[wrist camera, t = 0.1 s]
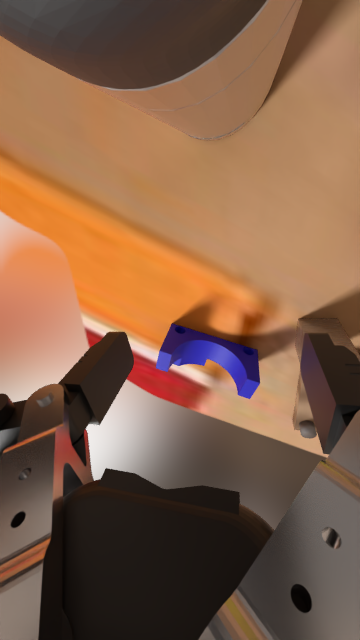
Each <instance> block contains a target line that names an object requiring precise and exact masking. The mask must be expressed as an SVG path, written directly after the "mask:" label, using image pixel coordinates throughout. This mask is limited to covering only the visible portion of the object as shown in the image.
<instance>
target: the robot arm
mask: <svg viewBox="0 0 360 640" xmlns="http://www.w3.org/2000/svg"><path fill="white" fill-rule="evenodd" d="M302 1H303V0H0V35H1V36H2V37H4V38H5V39H7V40H8V41H10V42H12V43H13V44H15V45H16V46H18V47H19V48H21V49H23V50H24V51H26V52H28V53H30V54H32V55H33V56H35V57H37V58H39V59H41V60H43V61H45V62H47V63H49V64H51V65H53V66H54V67H56V68H58V69H60V70H62V71H64V72H66V73H68V74H70V75H72V76H74V77H76V78H78V79H80V80H81V81H83V82H85V83H87V84H89V85H91V86H93V87H95V88H97V89H99V90H101V91H103V92H105V93H107V94H109V95H111V96H113V97H115V98H117V99H119V100H121V101H123V102H125V103H127V104H129V105H131V106H133V107H135V108H137V109H139V110H141V111H143V112H145V113H147V114H149V115H151V116H153V117H155V118H156V119H158V120H160V121H162V122H164V123H166V124H168V125H170V126H172V127H174V128H176V129H178V130H180V131H182V132H184V133H186V134H188V135H189V136H191V137H193V138H197V139H202V140H218V139H221V138H224V137H227V136H230V135H232V134H233V133H235V132H236V131H238V130H240V129H241V128H242V127H243V126H245V125H246V124H247V123H248V122H249V121H250V120H251V119H252V118H253V116H254V115H255V114H256V112H257V111H258V110H259V108H260V107H261V106H262V104H263V102H264V100H265V98H266V96H267V94H268V92H269V91H270V88H271V85H272V83H273V80H274V77H275V75H276V72H277V70H278V67H279V64H280V62H281V59H282V56H283V53H284V51H285V48H286V45H287V42H288V40H289V37H290V34H291V31H292V29H293V26H294V23H295V20H296V17H297V15H298V12H299V9H300V6H301V4H302ZM133 364H134V357H133V354H132V351H131V347H130V344H129V341H128V338H127V335H126V333H125V332H108V333H107V334H106V335H105V336H104V338H103V339H102V340H101V341H100V342H98V343H96V344H95V345H94V346H92V347H91V348H89V350H88V351H87V352H86V353H85V354H84V356H83V357H81V359H80V360H79V361H78V363H76V364H75V365H74V366H73V368H72V369H71V370H70V371H69V372H68V373H67V374H66V375H65V377H64V378H63V379H62V380H61V381H60V382H59V383H58V384H50V385H47V386H44V387H42V388H40V389H38V390H37V391H35V392H34V393H33V394H32V395H31V396H30V397H29V398H28V399H27V400H24V401H19V402H13V403H12V401H11V400H10V399H9V397H8V396H7V395H6V394H0V640H360V361H359V359H358V358H357V356H356V355H355V354H354V353H353V352H352V351H350V350H349V349H347V348H346V347H345V346H341V345H334V343H333V342H332V340H331V338H330V336H329V334H328V333H309V332H306V333H305V335H304V340H303V348H302V356H301V364H300V368H301V377H302V380H303V384H304V387H305V391H306V394H307V398H308V401H309V405H310V408H311V412H312V415H313V419H314V422H315V426H316V429H317V433H318V436H319V440H320V443H321V447H322V450H323V454H330V455H329V456H328V458H327V459H326V460H325V461H321V462H320V463H319V464H318V465H317V467H316V468H315V469H314V471H313V473H312V474H311V476H310V477H309V479H308V480H307V482H306V483H305V485H304V486H303V488H302V489H301V491H300V493H299V494H298V495H297V497H296V498H295V500H294V502H293V503H292V505H291V506H290V508H289V509H288V511H287V512H286V514H285V515H284V517H283V518H282V520H281V522H280V523H279V524H278V526H277V528H276V529H275V530H274V529H272V527H271V526H270V525H269V524H268V523H267V522H266V521H265V520H263V519H262V518H261V517H260V516H259V515H257V514H256V513H254V512H253V511H251V510H250V509H248V508H247V507H245V506H243V505H241V504H240V495H239V492H235V491H230V490H224V489H219V488H213V487H208V486H194V487H185V488H177V489H162V488H160V487H158V486H156V485H155V484H153V483H151V482H149V481H148V480H146V479H144V478H142V477H140V476H139V475H137V474H135V473H129V472H123V471H118V470H113V469H107V468H106V469H105V471H104V474H103V476H102V478H101V479H100V480H96V481H94V479H93V476H92V472H91V462H90V452H89V443H88V433H87V431H86V427H87V426H88V424H97V425H100V423H101V421H102V420H103V418H104V416H105V415H106V413H107V411H108V410H109V408H110V406H111V404H112V402H113V401H114V399H115V397H116V395H117V394H118V392H119V391H120V389H121V387H122V385H123V383H124V382H125V380H126V378H127V377H128V375H129V373H130V372H131V370H132V368H133Z"/></svg>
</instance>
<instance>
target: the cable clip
mask: <svg viewBox="0 0 360 640" xmlns="http://www.w3.org/2000/svg"><path fill="white" fill-rule="evenodd" d="M207 359H210V360H212V361H214V362H216V363H218V364H219V365H221V366H222V367H223V368H225V369H226V370H227V371H228V372H229V373H230V375H231V376H232V378H233V379H234V381H235V383H236V386H237V390H238V395H240V396H243V397H246V398H249V399H250V398H251V396H252V395H253V393H254V392H255V390H256V389H257V387H258V385H259V384H260V377H259V363H258V350H256V349H252V348H249V347H246V346H243V345H240V344H236V343H233V342H230V341H227V340H224V339H220V338H217V337H214V336H211V335H208V334H204V333H201V332H198V331H195V330H192V329H188V328H185V327H182V326H179V325H176V324H173V323H172V324H171V327H170V329H169V331H168V333H167V336H166V338H165V340H164V342H163V344H162V347H161V349H160V351H159V356H158V360H157V365H156V368H157V369H160V370H163V371H166V372H167V371H168V369H169V368H170V366H171V365H172V364H175V365H178V366H180V365H184V364H199V365H203V366H204V365H205V362H206V360H207Z"/></svg>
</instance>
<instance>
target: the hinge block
mask: <svg viewBox="0 0 360 640" xmlns="http://www.w3.org/2000/svg"><path fill="white" fill-rule="evenodd" d="M306 332H309V333H328V334H329V336H330V338H331V340H332V342H333V343H334V345H341V346H345V347H346V348H347V349H349V350H350V351H352V352H353V353H354V354H355V355H356V356H357V358H358V359H359V361H360V355H359V354H358V352H357V350H356V349H355V347H354V345H353V344H352V342H351V340H350V339H349V337H348V335H347V334H346V332H345V330H344V329H343V327H342V325H341V324H340V322H339V320H338V319H337V318H326V319H298V326H297V334H296V341H295V347H296V351H297V354H298V358H299V362H300V364H301V356H302V348H303V340H304V335H305V333H306Z"/></svg>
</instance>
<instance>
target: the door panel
mask: <svg viewBox="0 0 360 640" xmlns="http://www.w3.org/2000/svg"><path fill="white" fill-rule="evenodd" d="M358 354H359V355H360V353H358ZM293 425H294V430H300V432H301V435H302V436H303V437H305V438H314V437H316V435H317V434H316V432H317V429H316V426H315V422H314V419H313V415H312V412H311V408H310V405H309V401H308V398H307V394H306V391H305V387H304V384H303V380H302V377H301V368H300V375H299V381H298V388H297V394H296V401H295V408H294V414H293Z"/></svg>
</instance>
